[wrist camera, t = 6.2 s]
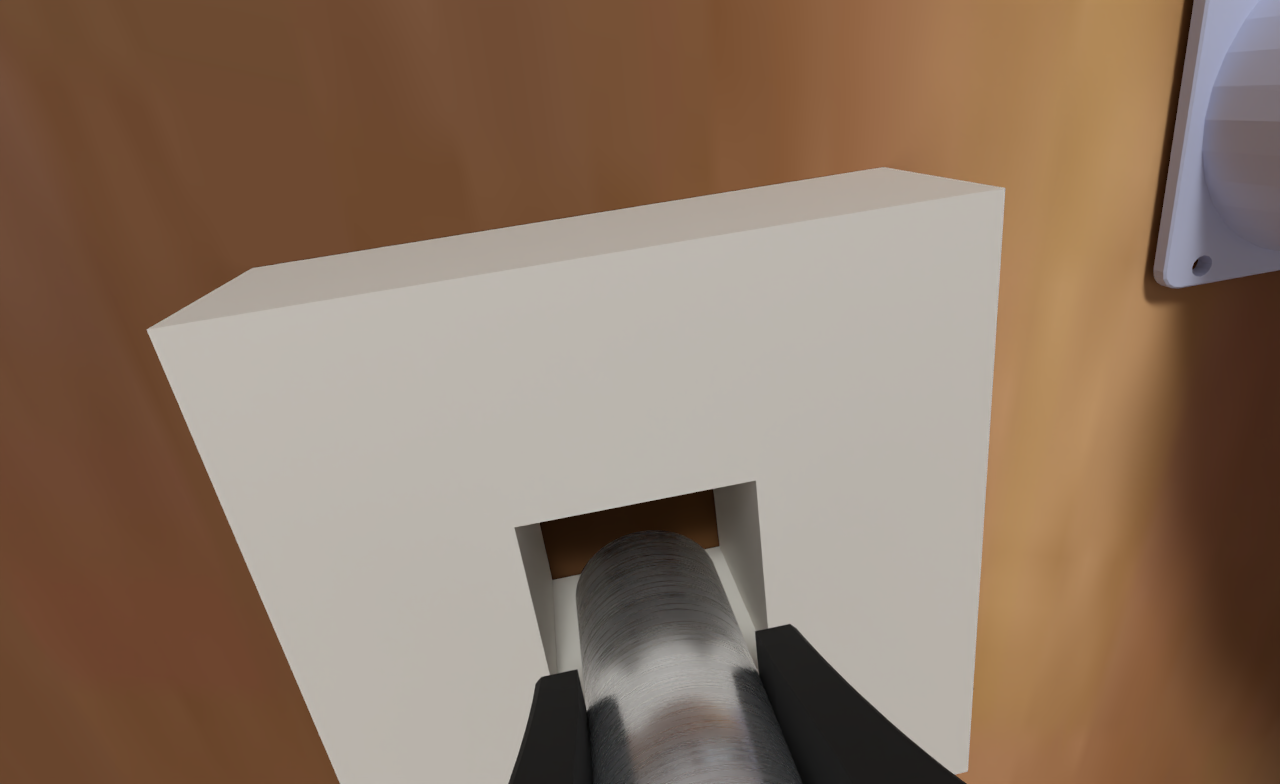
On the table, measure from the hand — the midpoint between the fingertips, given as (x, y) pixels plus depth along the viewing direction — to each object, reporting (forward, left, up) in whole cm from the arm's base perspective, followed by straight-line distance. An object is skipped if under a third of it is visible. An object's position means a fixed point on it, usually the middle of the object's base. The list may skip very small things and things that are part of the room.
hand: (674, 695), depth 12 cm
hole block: (0, 0, -7) cm, 7 cm away
